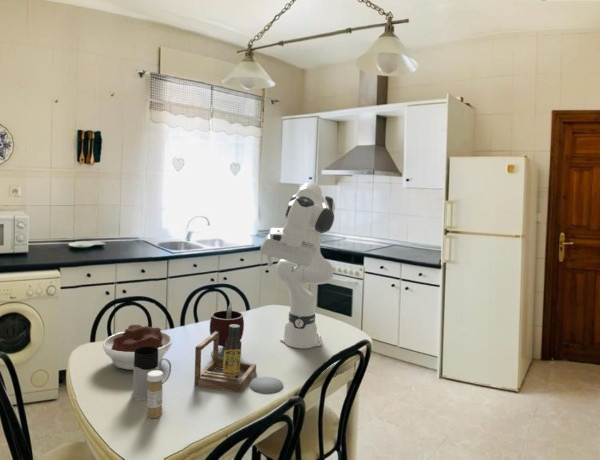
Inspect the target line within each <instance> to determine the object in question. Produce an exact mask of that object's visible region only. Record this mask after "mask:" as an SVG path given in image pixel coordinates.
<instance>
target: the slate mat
mask: <svg viewBox="0 0 600 460" xmlns="http://www.w3.org/2000/svg"><path fill="white" fill-rule="evenodd" d="M248 384H249V388H250V389H251V390H252V391H254V392H256V393H261V394H274V393H278V392H280V391H281V390H282V389H283V387H284V383H283V382H282V380H280V379H278V378H276V377H273V376H259V377H258V376H257V377H256V378H253V379H250V380H249V383H248Z"/></svg>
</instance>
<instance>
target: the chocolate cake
mask: <svg viewBox="0 0 600 460" xmlns="http://www.w3.org/2000/svg"><path fill="white" fill-rule="evenodd" d="M172 344H173V339H172V337H171V336H170V335H169V333H165V332H164V331H162V329H161V328H160V327H158V326H157V327H151V326H147V325H146V326H142V325H141V324H130V325H129V326H128V328H125V330H124V331H122V332H118V333H115V334H112V335H110V336H108V337H107V338H106V339H104V341H103V343H102V350H103V351H104V353H105V355H106V356H107V357H108V358H110V359H111V361H112V363H113V365H114V366H115V367H117V368H120V369H123V370H127V371H128V370H131V371H132V370H133V371H134V351H135V350H136V349H138V348H141V347H155V348H157V349H158V364H159V362H160V360H161V359H163V358H164V356H165V355H166V353H167V352H168V351H169V350H170V348H171V347H172Z"/></svg>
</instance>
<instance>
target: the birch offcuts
mask: <svg viewBox="0 0 600 460" xmlns="http://www.w3.org/2000/svg"><path fill="white" fill-rule="evenodd" d="M202 377H209V378H216V379H222V380H229V381H236V382H238V381H239V377H238V378H235V375H230V374H223V373H222V372H216V371H213V372H210V371H206V373H203V376H202Z"/></svg>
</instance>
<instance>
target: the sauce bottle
mask: <svg viewBox="0 0 600 460" xmlns="http://www.w3.org/2000/svg"><path fill="white" fill-rule="evenodd" d="M239 330H240V325H237V324H231V325H229V337H228V339H227V341H226V342H225V350H224V359H223V369H222V372H221V373H223V374H230V375H235V378H238V379H239V376H240V372H241V371H240V362H241V359H242V358H241V357H242V341H241V340H240V339H239Z"/></svg>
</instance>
